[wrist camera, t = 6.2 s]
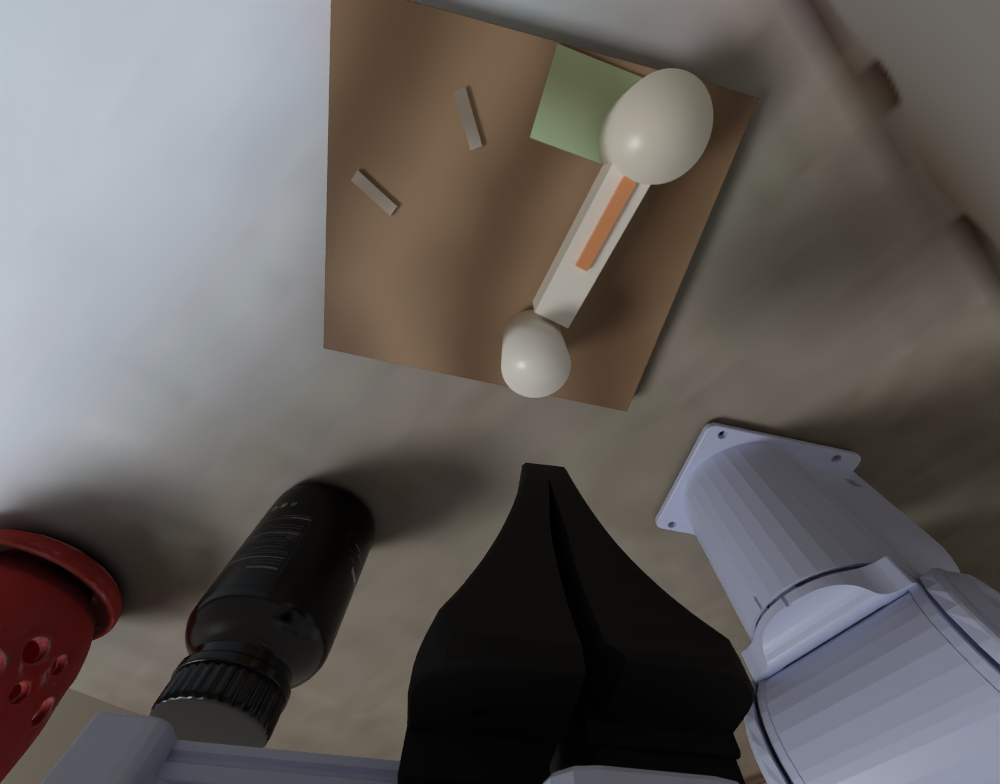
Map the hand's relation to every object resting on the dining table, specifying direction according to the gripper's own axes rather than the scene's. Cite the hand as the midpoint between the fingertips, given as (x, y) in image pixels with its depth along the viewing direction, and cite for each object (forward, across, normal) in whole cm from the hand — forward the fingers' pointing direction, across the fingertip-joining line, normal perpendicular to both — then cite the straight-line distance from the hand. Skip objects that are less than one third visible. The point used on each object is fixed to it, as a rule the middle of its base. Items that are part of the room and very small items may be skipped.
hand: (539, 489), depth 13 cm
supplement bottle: (+10, +12, +13) cm, 20 cm away
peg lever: (+8, -1, -7) cm, 11 cm away
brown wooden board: (+10, +2, -6) cm, 12 cm away
